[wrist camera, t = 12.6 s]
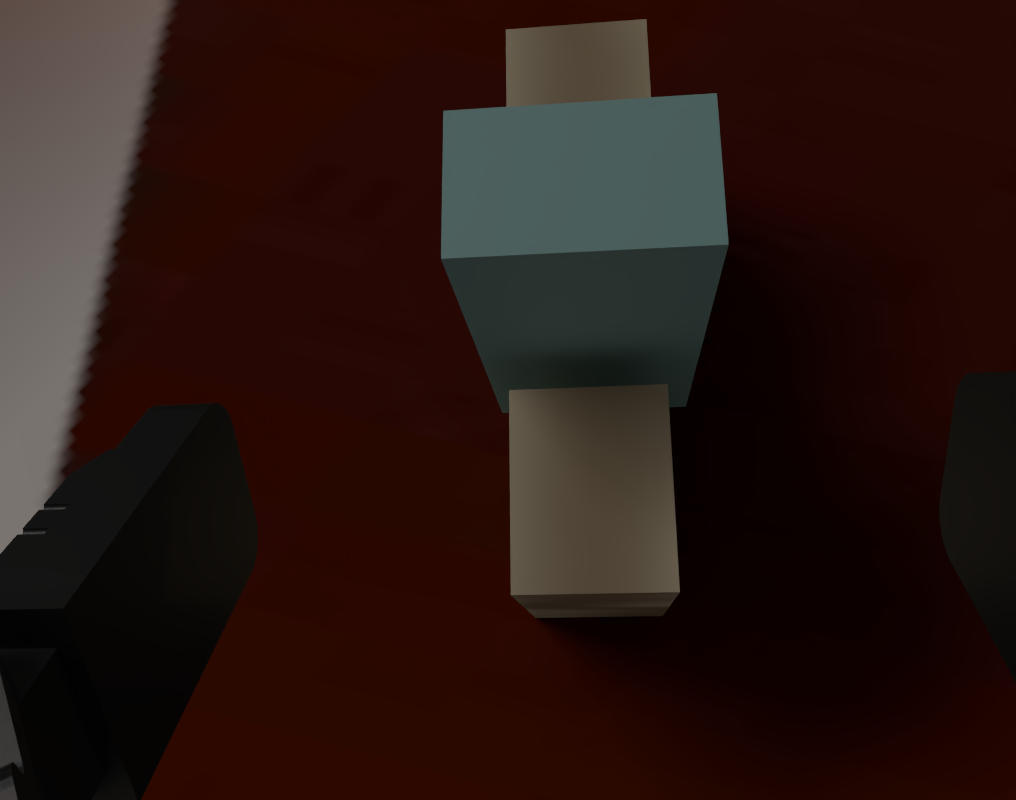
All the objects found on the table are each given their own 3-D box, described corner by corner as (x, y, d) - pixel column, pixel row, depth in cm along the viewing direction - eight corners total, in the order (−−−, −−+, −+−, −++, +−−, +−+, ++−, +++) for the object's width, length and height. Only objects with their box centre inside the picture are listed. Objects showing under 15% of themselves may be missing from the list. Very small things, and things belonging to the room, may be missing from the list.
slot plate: (638, 165, 30) (646, 19, 24) (662, 615, 26) (679, 592, 20) (529, 172, 31) (506, 29, 24) (536, 618, 27) (510, 595, 20)
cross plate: (679, 303, 27) (717, 93, 17) (685, 406, 26) (728, 244, 16) (502, 311, 27) (443, 111, 18) (502, 412, 26) (440, 258, 17)
